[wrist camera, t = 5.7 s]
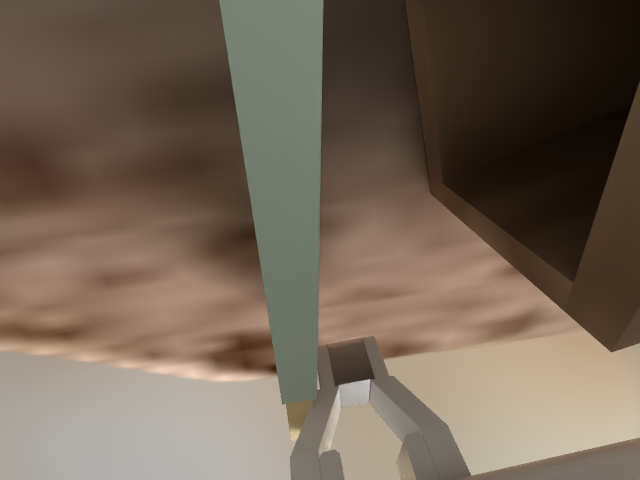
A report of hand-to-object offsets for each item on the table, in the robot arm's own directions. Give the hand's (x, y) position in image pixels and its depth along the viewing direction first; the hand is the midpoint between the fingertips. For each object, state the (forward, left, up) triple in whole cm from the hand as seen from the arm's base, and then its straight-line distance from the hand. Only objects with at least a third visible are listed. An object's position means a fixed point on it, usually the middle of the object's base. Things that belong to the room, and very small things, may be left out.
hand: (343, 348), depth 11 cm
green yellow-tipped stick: (-17, +5, -3) cm, 18 cm away
